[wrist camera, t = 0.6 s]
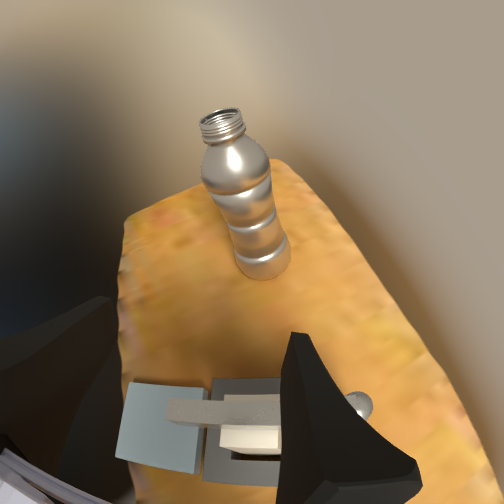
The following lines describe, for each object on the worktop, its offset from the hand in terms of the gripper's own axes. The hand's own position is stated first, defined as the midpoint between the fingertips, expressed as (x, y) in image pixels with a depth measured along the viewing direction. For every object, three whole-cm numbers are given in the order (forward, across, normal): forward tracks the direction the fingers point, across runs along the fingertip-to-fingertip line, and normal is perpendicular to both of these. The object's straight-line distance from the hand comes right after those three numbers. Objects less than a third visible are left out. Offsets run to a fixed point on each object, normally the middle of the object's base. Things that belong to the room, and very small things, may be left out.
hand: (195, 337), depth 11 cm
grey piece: (+7, -7, +16) cm, 19 cm away
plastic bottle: (+26, -3, +9) cm, 27 cm away
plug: (+7, -6, +17) cm, 19 cm away
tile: (+8, +5, +20) cm, 22 cm away
